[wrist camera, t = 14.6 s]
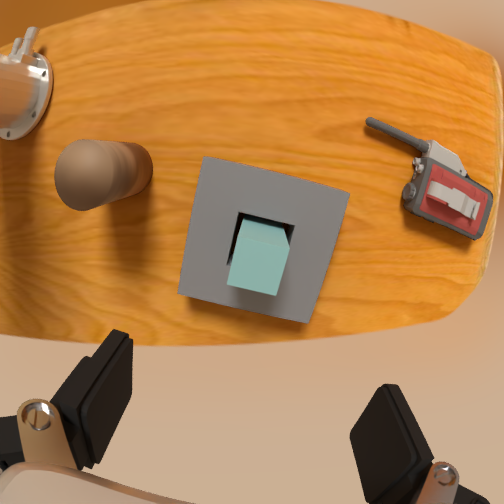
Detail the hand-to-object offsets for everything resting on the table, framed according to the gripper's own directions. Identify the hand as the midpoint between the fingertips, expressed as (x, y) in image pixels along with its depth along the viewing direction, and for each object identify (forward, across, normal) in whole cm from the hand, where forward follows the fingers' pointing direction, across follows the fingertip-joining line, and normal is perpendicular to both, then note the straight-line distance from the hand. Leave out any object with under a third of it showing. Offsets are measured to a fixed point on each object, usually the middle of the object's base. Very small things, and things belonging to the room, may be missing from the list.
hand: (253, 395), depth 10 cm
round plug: (+24, +16, -4) cm, 29 cm away
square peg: (+24, 0, 0) cm, 24 cm away
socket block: (+24, 0, 0) cm, 24 cm away
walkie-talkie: (+25, -18, -11) cm, 32 cm away
